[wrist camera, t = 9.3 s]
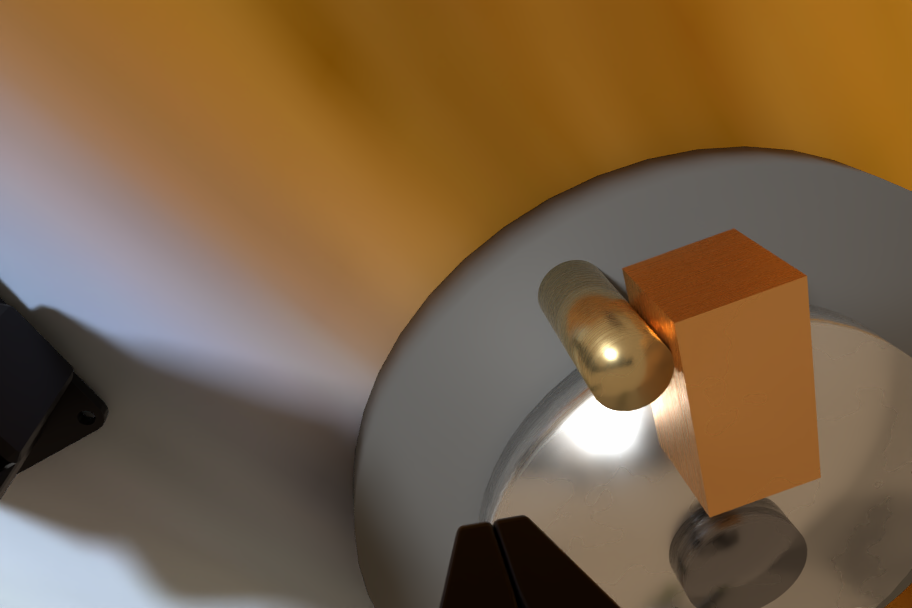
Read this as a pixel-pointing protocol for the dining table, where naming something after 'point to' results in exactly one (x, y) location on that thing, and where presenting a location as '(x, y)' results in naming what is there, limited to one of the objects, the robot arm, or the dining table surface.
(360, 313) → the dining table surface
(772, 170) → the base plate
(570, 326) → the dowel
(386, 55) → the dining table surface
